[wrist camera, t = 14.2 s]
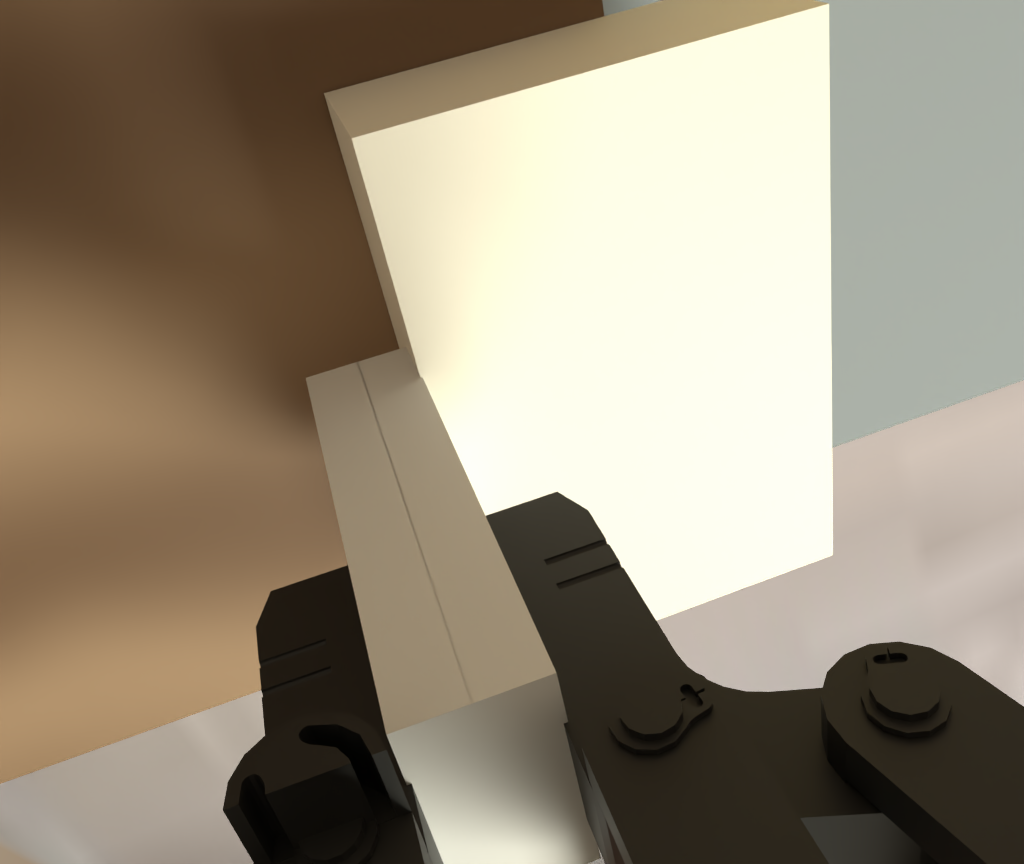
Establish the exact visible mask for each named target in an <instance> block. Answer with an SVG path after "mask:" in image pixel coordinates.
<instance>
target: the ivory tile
mask: <svg viewBox="0 0 1024 864" xmlns="http://www.w3.org/2000/svg"><path fill="white" fill-rule="evenodd" d="M324 95H325V99H326V102H327V106H328V109H329V112H330V116H331V119H332V122H333V126H334V129H335V133H336V136H337V139H338V143H339V146H340V149H341V153H342V156H343V160H344V163H345V166H346V170H347V173H348V176H349V180H350V183H351V187H352V190H353V193H354V197H355V200H356V203H357V207H358V210H359V214H360V217H361V220H362V224H363V227H364V230H365V234H366V237H367V241H368V244H369V247H370V251H371V254H372V257H373V261H374V264H375V268H376V271H377V274H378V278H379V281H380V285H381V288H382V291H383V295H384V298H385V301H386V305H387V308H388V312H389V315H390V318H391V322H392V325H393V328H394V332H395V335H396V339H397V342H398V345H399V349H401V348H404V347H406V348H407V350H408V352H409V354H410V356H411V359H412V361H413V363H414V365H415V367H416V369H417V372H418V374H419V376H420V378H422V377H423V379H424V381H425V384H426V386H427V388H428V390H429V392H430V395H431V397H432V399H433V401H434V403H435V406H436V408H437V410H438V412H439V414H440V417H441V419H442V421H443V423H444V425H445V428H446V430H447V432H448V434H449V437H450V439H451V441H452V443H453V445H454V448H455V450H456V452H457V454H458V456H459V459H460V461H461V463H462V465H463V467H464V470H465V472H466V474H467V476H468V478H469V481H470V483H471V485H472V487H473V490H474V492H475V494H476V496H477V498H478V501H479V503H480V505H481V507H482V509H483V512H484V514H485V516H486V515H489V514H492V513H495V512H498V511H501V510H504V509H507V508H510V507H513V506H516V505H519V504H522V503H525V502H528V501H531V500H534V499H537V498H540V497H543V496H546V495H548V494H551V493H554V492H559V493H560V494H562V495H564V496H565V497H567V498H569V499H570V500H572V501H574V502H575V503H577V504H579V505H580V506H582V507H584V508H585V509H587V510H588V511H589V512H590V514H591V515H592V517H593V519H594V520H595V522H596V524H597V525H598V527H599V528H600V530H601V532H602V533H603V535H604V537H605V538H606V542H607V544H609V545H610V546H611V548H612V550H613V551H614V553H615V555H616V556H617V558H618V559H619V561H620V564H621V567H622V568H624V569H625V571H626V572H627V574H628V576H629V577H630V579H631V581H632V582H633V584H634V585H635V587H636V589H637V590H638V592H639V594H640V595H641V597H642V598H643V600H644V602H645V603H646V605H647V607H648V608H649V610H650V611H651V613H652V615H653V616H654V618H655V620H656V621H657V620H659V619H662V618H665V617H667V616H670V615H673V614H675V613H678V612H681V611H684V610H686V609H689V608H692V607H694V606H697V605H700V604H702V603H705V602H708V601H710V600H713V599H716V598H719V597H721V596H724V595H727V594H729V593H732V592H735V591H737V590H740V589H743V588H745V587H748V586H751V585H754V584H756V583H759V582H762V581H764V580H767V579H770V578H772V577H775V576H778V575H781V574H783V573H786V572H789V571H791V570H794V569H797V568H799V567H802V566H805V565H807V564H810V563H813V562H816V561H818V560H821V559H824V558H826V557H829V556H832V555H833V486H832V345H831V205H830V65H829V4H828V3H824V2H820V1H815V0H662V1H658V2H655V3H651V4H647V5H644V6H640V7H636V8H633V9H629V10H626V11H622V12H618V13H615V14H611V15H607V16H604V17H600V18H596V19H593V20H589V21H585V22H582V23H578V24H575V25H571V26H567V27H564V28H560V29H556V30H553V31H549V32H545V33H542V34H538V35H534V36H531V37H527V38H523V39H520V40H516V41H513V42H509V43H505V44H502V45H498V46H494V47H491V48H487V49H483V50H480V51H476V52H472V53H469V54H465V55H462V56H458V57H454V58H451V59H447V60H443V61H440V62H436V63H432V64H429V65H425V66H421V67H418V68H414V69H410V70H407V71H403V72H400V73H396V74H392V75H389V76H385V77H381V78H378V79H374V80H370V81H367V82H363V83H359V84H356V85H352V86H348V87H345V88H341V89H338V90H334V91H330V92H327V93H324Z"/></svg>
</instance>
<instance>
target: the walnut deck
mask: <svg viewBox="0 0 1024 864" xmlns="http://www.w3.org/2000/svg"><path fill="white" fill-rule="evenodd" d="M600 17H604V9H603V1H602V0H0V784H1V783H4V782H6V781H9V780H12V779H15V778H18V777H20V776H23V775H26V774H29V773H31V772H34V771H37V770H40V769H43V768H45V767H48V766H51V765H54V764H57V763H59V762H62V761H65V760H68V759H70V758H73V757H76V756H79V755H82V754H84V753H87V752H90V751H93V750H95V749H98V748H101V747H104V746H107V745H109V744H112V743H115V742H118V741H121V740H123V739H126V738H129V737H132V736H134V735H137V734H140V733H143V732H146V731H148V730H151V729H154V728H157V727H160V726H162V725H165V724H168V723H171V722H173V721H176V720H179V719H182V718H185V717H187V716H190V715H193V714H196V713H198V712H201V711H204V710H207V709H210V708H212V707H215V706H218V705H221V704H224V703H226V702H229V701H232V700H235V699H237V698H240V697H243V696H246V695H249V694H251V693H254V692H257V691H260V690H261V681H260V670H259V668H261V667H260V663H259V658H258V647H257V635H256V625H257V623H258V620H259V618H260V616H261V613H262V611H263V609H264V606H265V604H266V601H267V599H268V597H269V594H270V592H271V591H273V590H276V589H279V588H282V587H284V586H287V585H290V584H293V583H296V582H299V581H302V580H305V579H308V578H311V577H314V576H317V575H320V574H323V573H326V572H329V571H332V570H335V569H338V568H341V567H344V566H347V565H348V563H347V559H346V554H345V550H344V545H343V541H342V536H341V532H340V528H339V523H338V519H337V514H336V510H335V505H334V501H333V497H332V492H331V488H330V483H329V479H328V475H327V470H326V466H325V461H324V457H323V452H322V448H321V444H320V439H319V435H318V430H317V426H316V421H315V417H314V413H313V408H312V404H311V399H310V395H309V390H308V386H307V382H306V378H307V377H310V376H313V375H317V374H320V373H323V372H326V371H329V370H333V369H336V368H339V367H342V366H346V365H349V364H352V363H355V362H359V361H362V360H365V359H368V358H372V357H375V356H378V355H381V354H385V353H388V352H391V351H394V350H398V349H399V345H398V342H397V339H396V335H395V332H394V328H393V325H392V322H391V318H390V315H389V312H388V308H387V305H386V301H385V298H384V295H383V291H382V288H381V285H380V281H379V278H378V274H377V271H376V268H375V264H374V261H373V257H372V254H371V251H370V247H369V244H368V241H367V237H366V234H365V230H364V227H363V224H362V220H361V217H360V214H359V210H358V207H357V203H356V200H355V197H354V193H353V190H352V187H351V183H350V180H349V176H348V173H347V170H346V166H345V163H344V160H343V156H342V153H341V149H340V146H339V143H338V139H337V136H336V133H335V129H334V126H333V122H332V119H331V116H330V112H329V109H328V106H327V102H326V99H325V95H324V93H327V92H330V91H334V90H338V89H341V88H345V87H348V86H352V85H356V84H359V83H363V82H367V81H370V80H374V79H378V78H381V77H385V76H389V75H392V74H396V73H400V72H403V71H407V70H410V69H414V68H418V67H421V66H425V65H429V64H432V63H436V62H440V61H443V60H447V59H451V58H454V57H458V56H462V55H465V54H469V53H472V52H476V51H480V50H483V49H487V48H491V47H494V46H498V45H502V44H505V43H509V42H513V41H516V40H520V39H523V38H527V37H531V36H534V35H538V34H542V33H545V32H549V31H553V30H556V29H560V28H564V27H567V26H571V25H575V24H578V23H582V22H585V21H589V20H593V19H596V18H600Z"/></svg>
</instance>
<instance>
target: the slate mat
mask: <svg viewBox="0 0 1024 864" xmlns="http://www.w3.org/2000/svg"><path fill="white" fill-rule="evenodd" d="M602 1H603V9H604V16H607V15H611V14H615V13H618V12H622V11H626V10H629V9H633V8H636V7H640V6H644V5H647V4H651V3H655V2H658V1H662V0H602ZM815 1H820V2H824V3H828V4H829V65H830V205H831V345H832V448H833V447H836V446H839V445H841V444H844V443H847V442H850V441H853V440H856V439H858V438H861V437H864V436H867V435H870V434H873V433H875V432H878V431H881V430H884V429H887V428H890V427H892V426H895V425H898V424H901V423H904V422H907V421H909V420H912V419H915V418H918V417H921V416H924V415H926V414H929V413H932V412H935V411H938V410H940V409H943V408H946V407H949V406H952V405H955V404H957V403H960V402H963V401H966V400H969V399H972V398H974V397H977V396H980V395H983V394H986V393H989V392H991V391H994V390H997V389H1000V388H1003V387H1006V386H1008V385H1011V384H1014V383H1017V382H1020V381H1023V380H1024V0H815Z"/></svg>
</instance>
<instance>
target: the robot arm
mask: <svg viewBox="0 0 1024 864" xmlns="http://www.w3.org/2000/svg"><path fill="white" fill-rule="evenodd" d="M306 382H307V386H308V390H309V395H310V399H311V404H312V408H313V413H314V417H315V421H316V426H317V430H318V435H319V439H320V444H321V448H322V452H323V457H324V461H325V466H326V470H327V475H328V479H329V483H330V488H331V492H332V497H333V501H334V505H335V510H336V514H337V519H338V523H339V528H340V532H341V536H342V541H343V545H344V550H345V554H346V559H347V563H348V565H347V566H344V567H341V568H338V569H335V570H332V571H329V572H326V573H323V574H320V575H317V576H314V577H311V578H308V579H305V580H302V581H299V582H296V583H293V584H290V585H287V586H284V587H282V588H279V589H276V590H273V591H271V592H270V594H269V597H268V599H267V601H266V604H265V606H264V609H263V611H262V613H261V616H260V618H259V620H258V623H257V625H256V635H257V647H258V658H259V663H260V667H261V668H259V670H260V681H261V691H262V693H263V697H262V704H263V715H264V727H265V736H264V737H263V738H262V739H261V740H260V741H259V742H258V743H257V744H256V745H255V746H254V747H252V748H251V749H250V750H249V751H248V752H247V753H246V754H245V755H244V756H243V758H242V760H241V761H240V763H239V765H238V766H237V768H236V770H235V771H234V773H233V775H232V776H231V778H230V780H229V781H228V785H227V791H226V796H225V802H224V807H223V811H224V813H225V815H226V816H227V818H228V820H229V821H230V823H231V825H232V826H233V828H234V830H235V831H236V833H237V835H238V837H239V838H240V840H241V842H242V843H243V845H244V847H245V848H246V850H247V852H248V854H249V855H250V857H251V859H252V860H253V862H254V864H587V863H589V862H592V861H595V860H597V859H600V858H601V857H600V853H599V850H600V852H601V854H602V857H603V859H604V862H605V864H1024V707H1023V706H1022V705H1020V704H1019V703H1018V702H1016V701H1015V700H1013V699H1012V698H1010V697H1009V696H1007V695H1006V694H1005V693H1003V692H1002V691H1000V690H999V689H997V688H996V687H995V686H993V685H992V684H990V683H989V682H987V681H986V680H984V679H983V678H982V677H980V676H979V675H977V674H976V673H974V672H973V671H971V670H970V669H969V668H967V667H966V666H964V665H963V664H961V663H960V662H958V661H956V660H954V659H952V658H950V657H948V656H946V655H944V654H942V653H940V652H938V651H936V650H934V649H932V648H929V647H924V646H919V645H914V644H908V643H903V642H890V643H878V644H869V645H866V646H864V647H861V648H859V649H857V650H854V651H852V652H849V653H847V654H845V655H843V656H842V657H841V658H840V659H839V661H838V662H837V663H836V664H835V665H834V666H833V667H832V668H831V669H830V670H829V671H828V672H827V675H826V678H825V682H824V685H823V688H815V689H802V690H789V691H776V692H746V691H741V690H736V689H731V688H727V687H723V686H720V685H718V684H716V683H713V682H711V681H709V680H707V679H706V678H705V677H704V676H702V675H700V674H698V673H696V672H694V671H693V670H691V669H690V668H689V667H687V666H686V664H685V663H684V662H683V661H682V660H681V658H680V657H679V656H678V655H677V653H676V652H675V650H674V649H673V647H672V646H671V644H670V642H669V641H668V639H667V637H666V636H665V634H664V633H663V631H662V629H661V628H660V626H659V624H658V623H657V621H656V620H655V618H654V616H653V615H652V613H651V611H650V610H649V608H648V607H647V605H646V603H645V602H644V600H643V598H642V597H641V595H640V594H639V592H638V590H637V589H636V587H635V585H634V584H633V582H632V581H631V579H630V577H629V576H628V574H627V572H626V571H625V569H624V568H622V567H621V564H620V561H619V559H618V558H617V556H616V555H615V553H614V551H613V550H612V548H611V546H610V545H609V544H607V542H606V538H605V537H604V535H603V533H602V532H601V530H600V528H599V527H598V525H597V524H596V522H595V520H594V519H593V517H592V515H591V514H590V512H589V511H588V510H587V509H585V508H584V507H582V506H580V505H579V504H577V503H575V502H574V501H572V500H570V499H569V498H567V497H565V496H564V495H562V494H560V493H559V492H554V493H551V494H548V495H546V496H543V497H540V498H537V499H534V500H531V501H528V502H525V503H522V504H519V505H516V506H513V507H510V508H507V509H504V510H501V511H498V512H495V513H492V514H489V515H486V516H485V514H484V512H483V509H482V507H481V505H480V503H479V501H478V498H477V496H476V494H475V492H474V490H473V487H472V485H471V483H470V481H469V478H468V476H467V474H466V472H465V470H464V467H463V465H462V463H461V461H460V459H459V456H458V454H457V452H456V450H455V448H454V445H453V443H452V441H451V439H450V437H449V434H448V432H447V430H446V428H445V425H444V423H443V421H442V419H441V417H440V414H439V412H438V410H437V408H436V406H435V403H434V401H433V399H432V397H431V395H430V392H429V390H428V388H427V386H426V384H425V381H424V379H423V377H422V378H420V376H419V374H418V372H417V369H416V367H415V365H414V363H413V361H412V359H411V356H410V354H409V352H408V350H407V348H406V347H404V348H401V349H398V350H394V351H391V352H388V353H385V354H381V355H378V356H375V357H372V358H368V359H365V360H362V361H359V362H355V363H352V364H349V365H346V366H342V367H339V368H336V369H333V370H329V371H326V372H323V373H320V374H317V375H313V376H310V377H307V378H306ZM598 847H599V849H598Z"/></svg>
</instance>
